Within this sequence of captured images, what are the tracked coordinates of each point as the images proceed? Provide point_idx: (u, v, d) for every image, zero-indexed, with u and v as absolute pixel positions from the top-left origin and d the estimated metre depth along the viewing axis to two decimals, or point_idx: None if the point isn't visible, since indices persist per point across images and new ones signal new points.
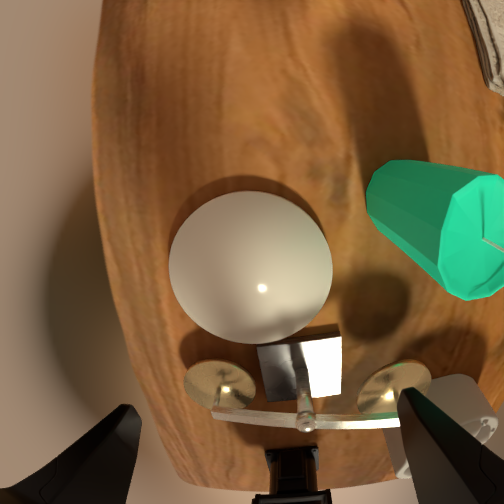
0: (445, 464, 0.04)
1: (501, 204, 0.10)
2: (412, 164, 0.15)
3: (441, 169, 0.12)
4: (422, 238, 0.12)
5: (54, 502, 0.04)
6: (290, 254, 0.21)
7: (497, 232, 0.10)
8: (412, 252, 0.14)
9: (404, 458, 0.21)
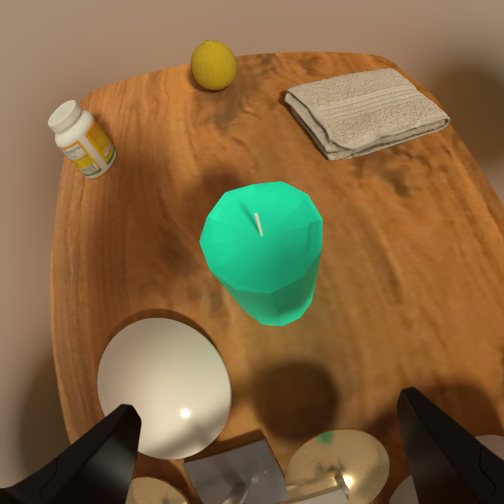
0: (445, 464, 0.04)
1: (271, 201, 0.15)
2: None
3: None
4: None
5: (54, 502, 0.04)
6: (183, 363, 0.21)
7: (278, 223, 0.15)
8: (235, 296, 0.17)
9: None
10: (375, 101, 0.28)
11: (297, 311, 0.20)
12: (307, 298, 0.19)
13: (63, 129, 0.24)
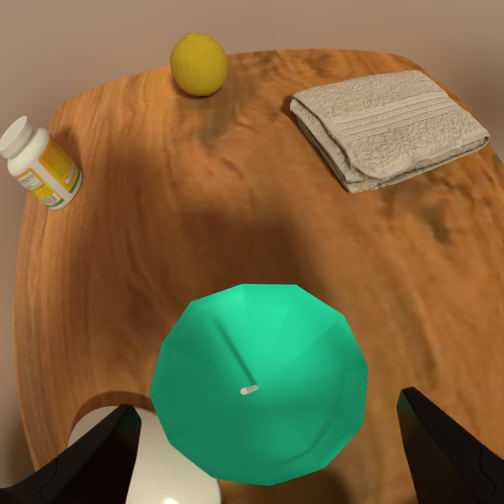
0: (445, 464, 0.04)
1: (275, 321, 0.08)
2: None
3: None
4: None
5: (53, 502, 0.04)
6: (161, 464, 0.14)
7: (287, 366, 0.08)
8: None
9: None
10: (405, 112, 0.21)
11: None
12: None
13: (12, 154, 0.18)
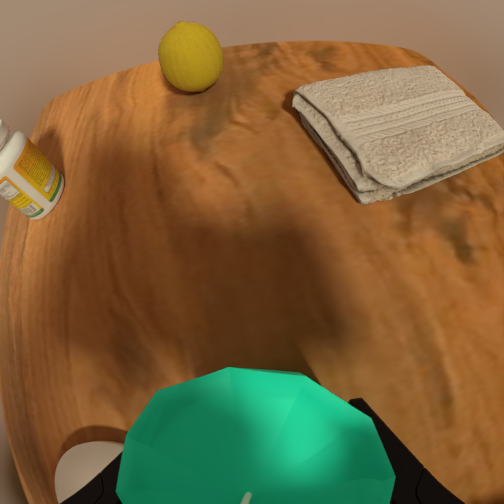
0: None
1: (275, 419, 0.05)
2: None
3: None
4: None
5: None
6: None
7: (289, 474, 0.05)
8: None
9: None
10: (422, 111, 0.18)
11: None
12: None
13: None
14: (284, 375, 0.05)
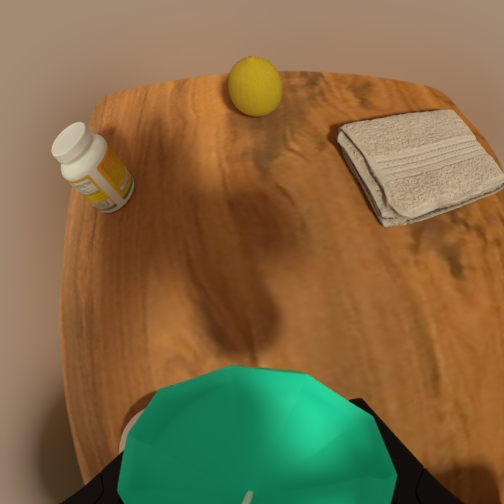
0: None
1: (275, 417, 0.05)
2: None
3: None
4: None
5: None
6: None
7: (291, 472, 0.05)
8: None
9: None
10: (437, 156, 0.23)
11: None
12: None
13: (70, 161, 0.21)
14: (286, 373, 0.05)
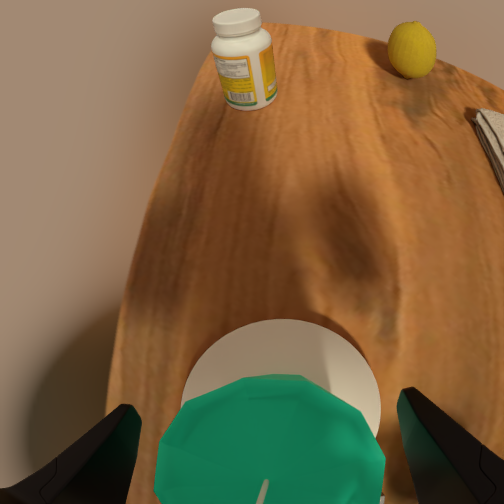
0: (445, 464, 0.04)
1: (283, 416, 0.07)
2: None
3: None
4: None
5: (54, 502, 0.04)
6: (332, 393, 0.15)
7: (298, 461, 0.06)
8: None
9: None
10: None
11: None
12: None
13: (234, 34, 0.19)
14: (289, 381, 0.07)
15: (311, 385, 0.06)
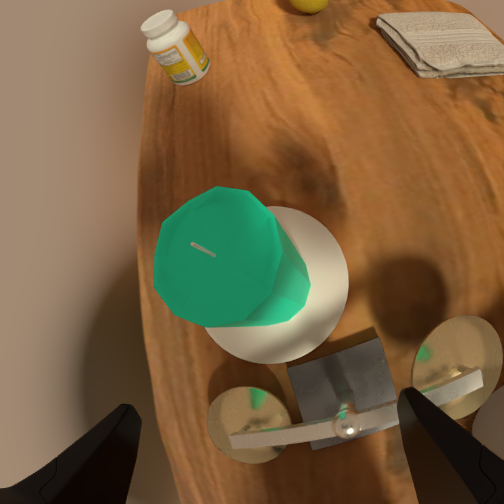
0: (445, 464, 0.04)
1: (213, 212, 0.13)
2: None
3: None
4: None
5: (54, 502, 0.04)
6: (300, 252, 0.22)
7: (228, 235, 0.12)
8: None
9: None
10: (457, 37, 0.20)
11: (296, 306, 0.18)
12: (300, 290, 0.17)
13: (159, 33, 0.23)
14: (209, 190, 0.13)
15: (219, 187, 0.13)
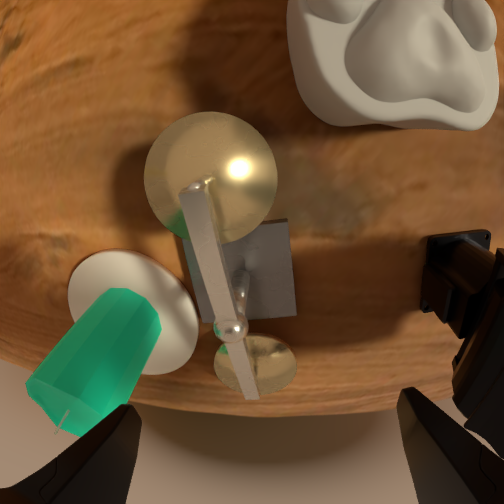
0: (445, 464, 0.04)
1: (45, 399, 0.13)
2: None
3: None
4: None
5: (54, 502, 0.04)
6: (101, 289, 0.21)
7: (55, 399, 0.13)
8: (127, 400, 0.16)
9: (416, 119, 0.10)
10: None
11: (131, 323, 0.18)
12: (114, 321, 0.17)
13: None
14: (32, 398, 0.13)
15: (28, 394, 0.12)
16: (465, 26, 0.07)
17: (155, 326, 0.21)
